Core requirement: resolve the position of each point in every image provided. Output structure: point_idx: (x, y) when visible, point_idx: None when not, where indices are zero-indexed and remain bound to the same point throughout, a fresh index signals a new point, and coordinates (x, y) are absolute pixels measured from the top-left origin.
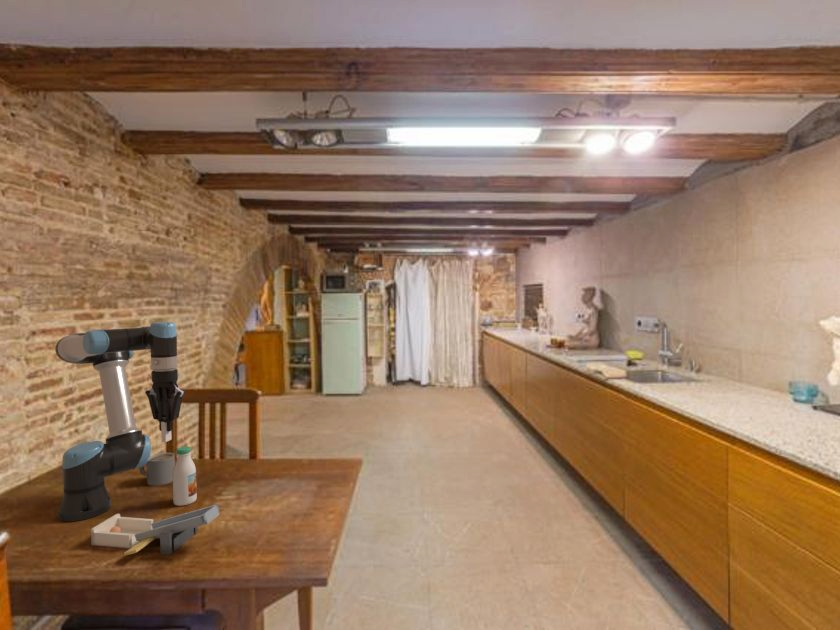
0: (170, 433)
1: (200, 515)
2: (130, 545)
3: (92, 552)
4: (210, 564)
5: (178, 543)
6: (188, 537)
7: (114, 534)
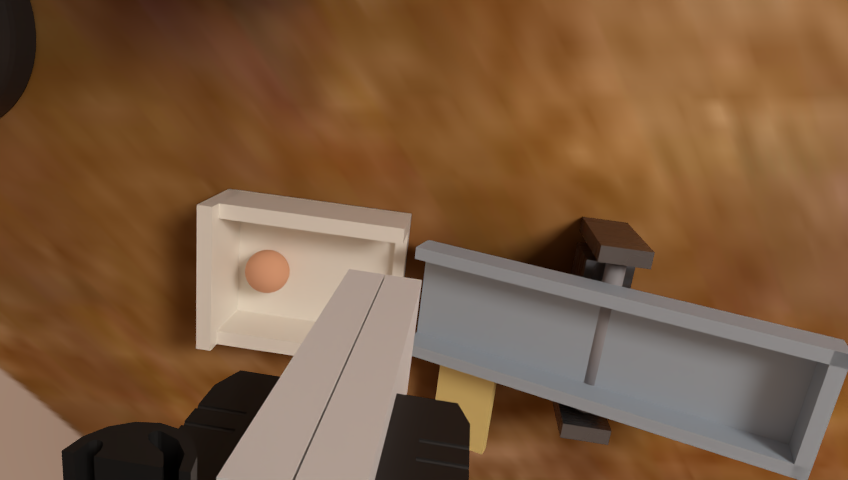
0: (406, 345)
1: (782, 460)
2: None
3: (272, 365)
4: None
5: None
6: None
7: None
